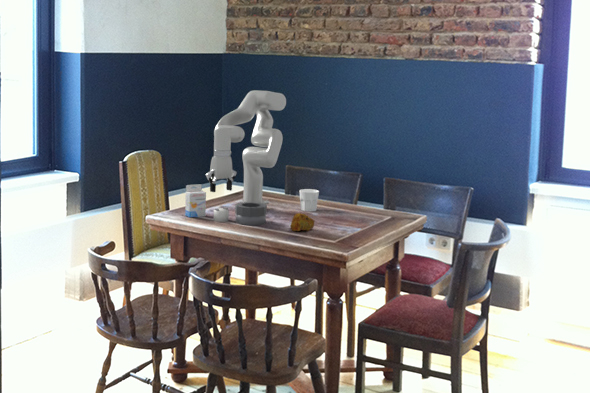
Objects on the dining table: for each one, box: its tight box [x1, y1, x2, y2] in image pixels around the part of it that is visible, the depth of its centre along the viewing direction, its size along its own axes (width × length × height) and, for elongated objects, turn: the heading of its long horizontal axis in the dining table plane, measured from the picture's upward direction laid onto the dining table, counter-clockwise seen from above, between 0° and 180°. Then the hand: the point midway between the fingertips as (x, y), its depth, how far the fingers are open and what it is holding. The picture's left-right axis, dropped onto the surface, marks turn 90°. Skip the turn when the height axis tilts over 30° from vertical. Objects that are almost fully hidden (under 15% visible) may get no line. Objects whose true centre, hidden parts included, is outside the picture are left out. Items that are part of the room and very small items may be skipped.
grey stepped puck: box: [234, 201, 268, 226], centre depth 304 cm, size 14×14×8 cm
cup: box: [299, 188, 320, 212], centre depth 336 cm, size 10×10×10 cm
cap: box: [213, 206, 230, 223], centre depth 305 cm, size 7×7×6 cm
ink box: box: [184, 183, 207, 218], centre depth 311 cm, size 8×5×15 cm, turn 123°
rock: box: [289, 212, 315, 232], centre depth 292 cm, size 11×8×10 cm
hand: (221, 191), depth 303 cm, fingers open, 9 cm apart
